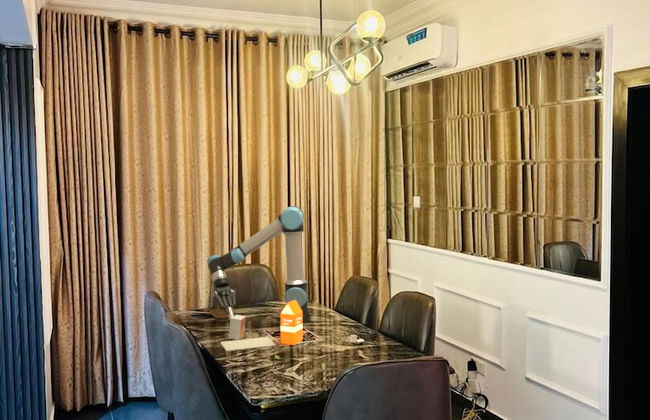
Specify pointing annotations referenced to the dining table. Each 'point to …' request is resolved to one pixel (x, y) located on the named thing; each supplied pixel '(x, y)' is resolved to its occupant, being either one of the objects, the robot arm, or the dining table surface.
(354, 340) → the teacup and saucer
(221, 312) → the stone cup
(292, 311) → the orange juice
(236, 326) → the small box
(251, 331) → the dining table surface
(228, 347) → the mat
